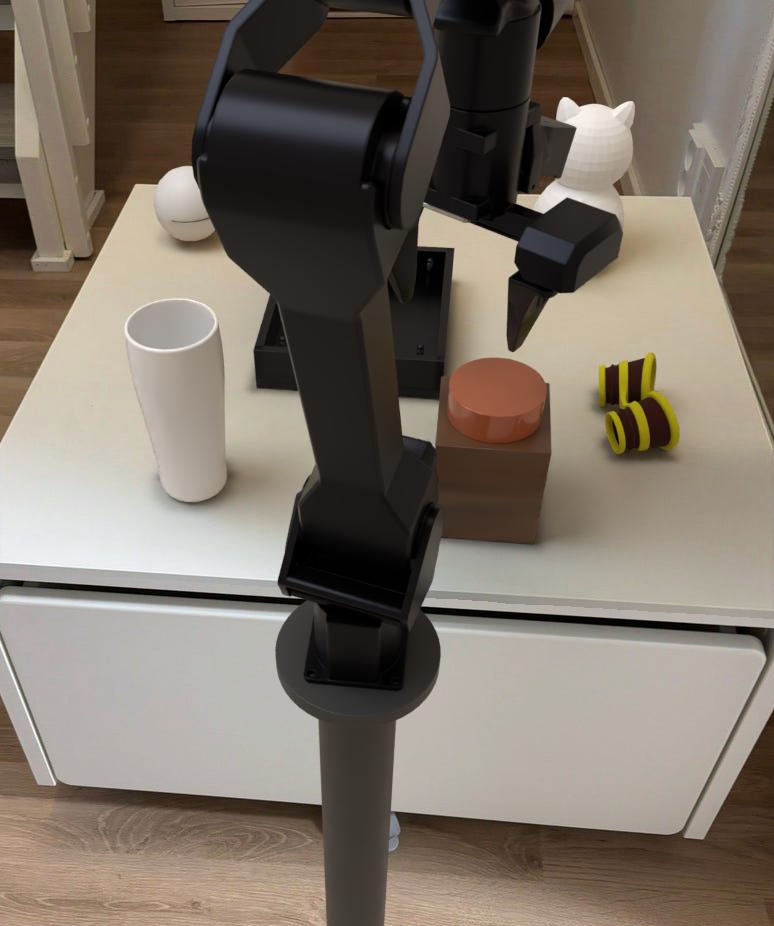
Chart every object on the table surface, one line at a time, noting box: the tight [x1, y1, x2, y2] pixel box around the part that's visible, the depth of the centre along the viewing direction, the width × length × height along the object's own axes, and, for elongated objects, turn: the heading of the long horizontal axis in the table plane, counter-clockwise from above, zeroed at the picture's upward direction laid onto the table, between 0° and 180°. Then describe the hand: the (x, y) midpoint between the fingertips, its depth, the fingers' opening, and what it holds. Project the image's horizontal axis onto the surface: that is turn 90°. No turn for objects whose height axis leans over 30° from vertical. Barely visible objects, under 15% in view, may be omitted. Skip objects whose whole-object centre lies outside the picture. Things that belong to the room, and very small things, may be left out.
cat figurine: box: [532, 96, 636, 230], centre depth 98 cm, size 9×12×15 cm
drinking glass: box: [123, 297, 228, 503], centre depth 77 cm, size 7×7×15 cm
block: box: [434, 376, 553, 545], centre depth 77 cm, size 8×8×9 cm
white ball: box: [153, 165, 216, 242], centre depth 106 cm, size 10×7×7 cm
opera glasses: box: [598, 352, 681, 455], centre depth 85 cm, size 10×5×5 cm, turn 179°
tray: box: [252, 245, 455, 400], centre depth 94 cm, size 18×16×4 cm
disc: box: [447, 357, 547, 444], centre depth 73 cm, size 7×7×2 cm
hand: (458, 323), depth 71 cm, fingers open, 9 cm apart
